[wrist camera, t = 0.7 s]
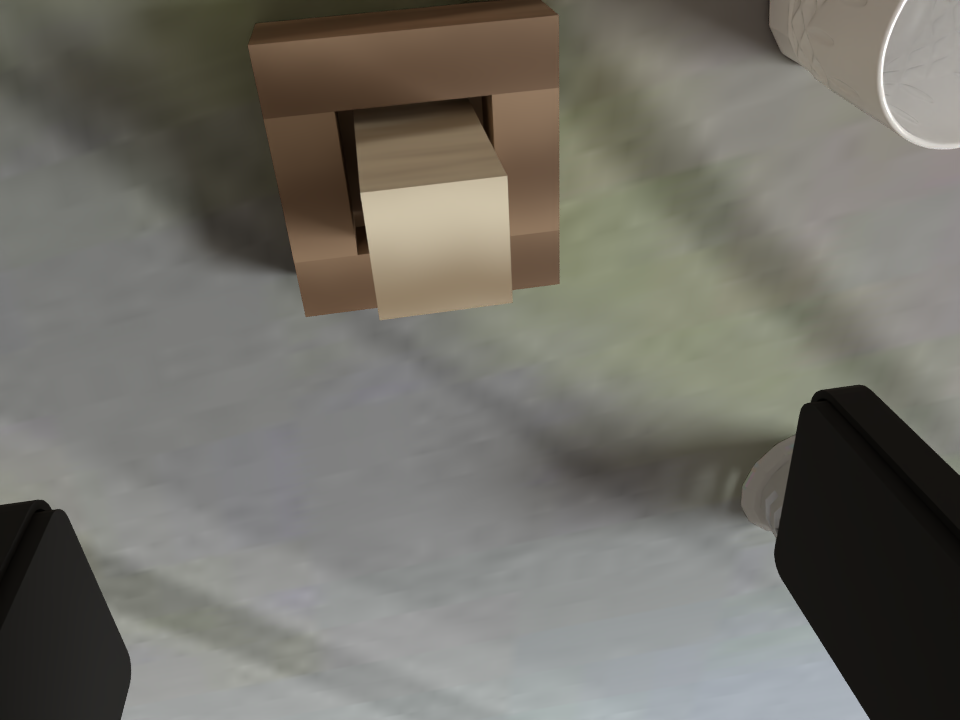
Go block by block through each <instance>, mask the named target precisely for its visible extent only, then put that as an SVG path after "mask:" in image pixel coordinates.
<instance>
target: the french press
mask: <svg viewBox="0 0 960 720" xmlns="http://www.w3.org/2000/svg"><path fill="white" fill-rule="evenodd" d="M795 436H796V435H794V436H792V437H790V438H788V439H786V440H784V441H782V442H780V443H778V444H776V445H775V446H774V447H773V448H772V449H771V450H770V451H768V452H767V453H766V454H765V455H764V456H763V457H762V458H761V459H760V460H759V461H758V462H756V463H755V465H754V466H753V468H752V470H751V472H750V473H749V475H748V477H747V479H746V480H745V482H744V484H743V486H742V498H741V507H742V509H743V510H744V512H745V514H746V516H747V518H748V520H749V521H750V522H752V523H754V524H755V525H757V526H759V527H761V528H763V529H765V530H766V531H772V532H773V534H774V536H775V537H776V538H777V533H778V528H779V522H780V517H781V511H782V506H783V501H784V495H785V490H786V485H787V479H788V474H789V468H790V463H791V458H792V452H793V447H794V442H795Z"/></svg>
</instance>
